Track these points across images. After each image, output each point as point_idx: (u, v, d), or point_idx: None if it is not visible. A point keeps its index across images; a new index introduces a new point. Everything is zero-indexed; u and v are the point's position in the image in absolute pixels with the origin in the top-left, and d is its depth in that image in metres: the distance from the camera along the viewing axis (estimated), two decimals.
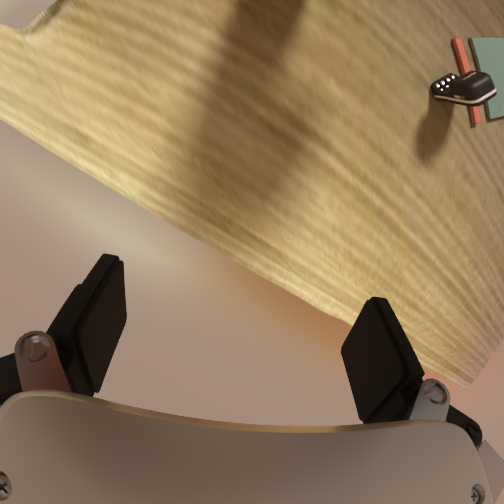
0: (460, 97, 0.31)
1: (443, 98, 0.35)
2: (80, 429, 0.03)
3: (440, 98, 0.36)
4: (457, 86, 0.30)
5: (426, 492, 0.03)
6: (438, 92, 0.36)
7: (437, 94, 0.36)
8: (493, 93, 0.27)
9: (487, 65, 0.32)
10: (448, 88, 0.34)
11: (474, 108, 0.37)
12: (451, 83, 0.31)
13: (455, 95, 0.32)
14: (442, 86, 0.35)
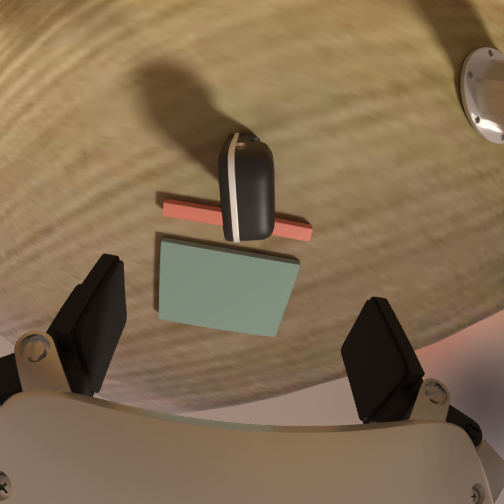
0: (240, 146, 0.21)
1: (233, 137, 0.25)
2: (80, 429, 0.03)
3: (233, 136, 0.26)
4: (265, 148, 0.21)
5: (426, 492, 0.03)
6: (245, 136, 0.26)
7: (240, 135, 0.26)
8: (231, 224, 0.20)
9: (248, 274, 0.35)
10: None
11: (188, 209, 0.31)
12: (268, 147, 0.22)
13: (244, 143, 0.22)
14: None
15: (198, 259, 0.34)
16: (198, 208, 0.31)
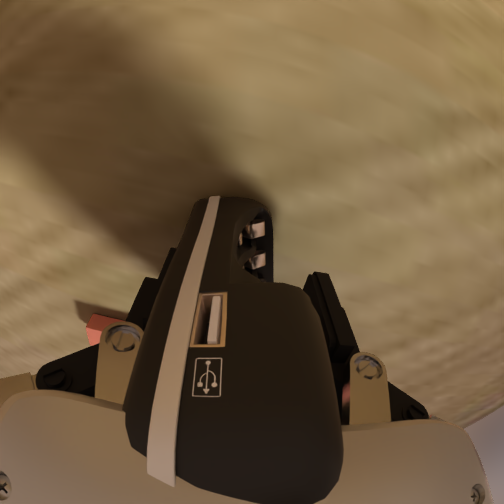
0: (208, 348, 0.05)
1: (201, 224, 0.10)
2: (80, 429, 0.03)
3: (202, 213, 0.10)
4: (311, 358, 0.05)
5: (426, 492, 0.03)
6: (233, 214, 0.10)
7: (223, 208, 0.11)
8: None
9: None
10: None
11: None
12: (311, 308, 0.06)
13: (224, 305, 0.06)
14: (248, 250, 0.12)
15: None
16: None
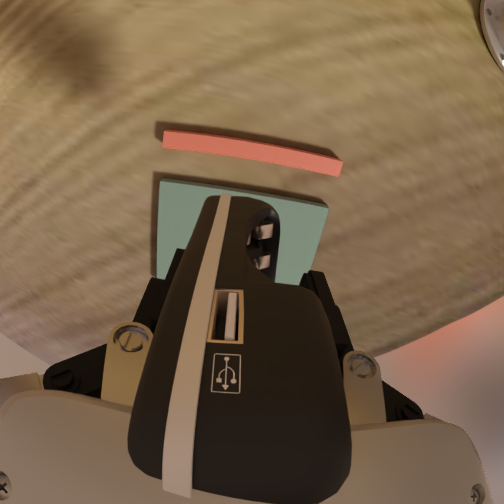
0: (226, 345, 0.05)
1: (214, 220, 0.10)
2: (80, 429, 0.03)
3: (214, 209, 0.10)
4: (326, 360, 0.05)
5: (426, 492, 0.03)
6: (245, 214, 0.10)
7: (234, 206, 0.11)
8: None
9: None
10: None
11: (193, 137, 0.24)
12: (323, 312, 0.07)
13: (241, 303, 0.06)
14: (255, 250, 0.12)
15: None
16: (205, 136, 0.24)
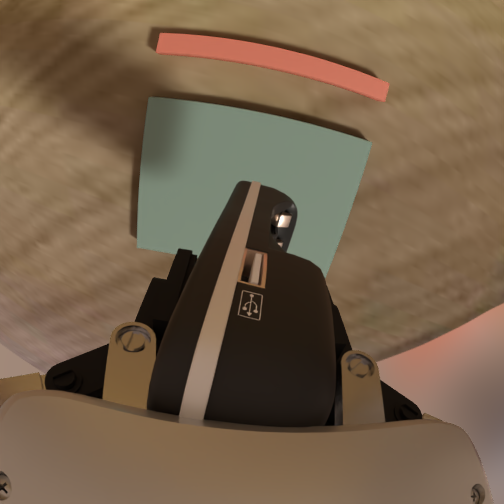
0: (252, 286, 0.07)
1: (245, 200, 0.11)
2: (80, 429, 0.03)
3: (245, 191, 0.12)
4: (324, 316, 0.07)
5: (426, 492, 0.03)
6: (271, 201, 0.12)
7: (263, 193, 0.12)
8: None
9: (291, 153, 0.20)
10: None
11: (198, 39, 0.16)
12: (326, 286, 0.08)
13: (265, 262, 0.08)
14: (271, 235, 0.13)
15: (207, 125, 0.19)
16: (214, 37, 0.16)
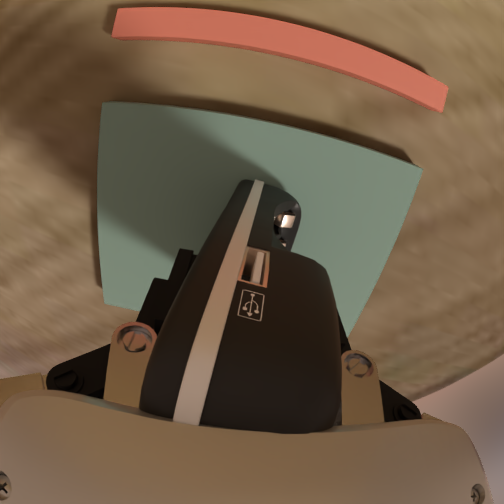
0: (253, 286, 0.06)
1: (248, 198, 0.11)
2: (80, 429, 0.03)
3: (248, 190, 0.12)
4: (330, 317, 0.06)
5: (426, 492, 0.03)
6: (275, 200, 0.12)
7: (266, 192, 0.12)
8: None
9: (312, 184, 0.14)
10: None
11: (172, 13, 0.09)
12: (331, 287, 0.08)
13: (267, 260, 0.07)
14: (274, 235, 0.13)
15: (187, 142, 0.13)
16: (197, 9, 0.09)
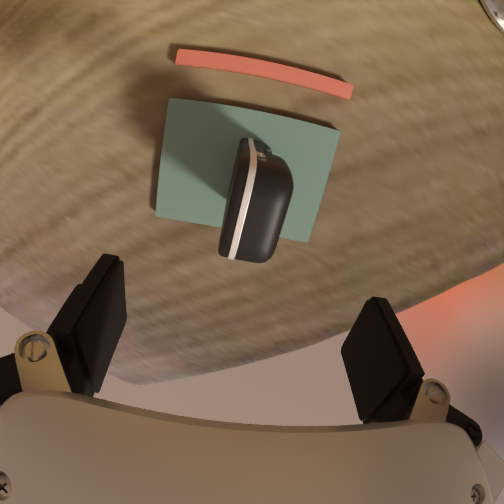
0: (261, 157, 0.19)
1: (248, 142, 0.23)
2: (80, 429, 0.03)
3: (247, 140, 0.24)
4: (287, 166, 0.19)
5: (426, 492, 0.03)
6: (260, 144, 0.24)
7: (255, 142, 0.25)
8: (231, 240, 0.18)
9: (277, 140, 0.26)
10: None
11: (207, 55, 0.22)
12: None
13: (263, 154, 0.20)
14: None
15: (214, 119, 0.25)
16: (219, 53, 0.22)
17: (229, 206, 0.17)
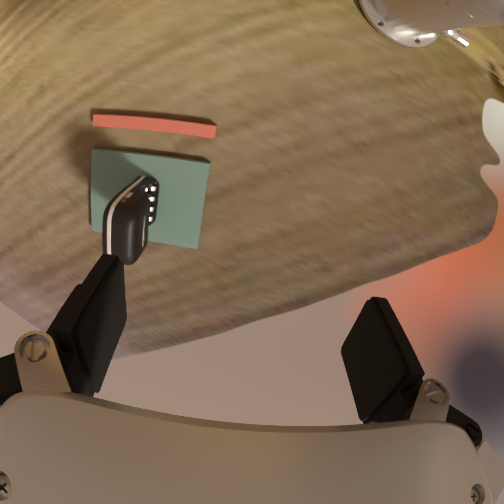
0: (126, 197, 0.28)
1: (136, 181, 0.33)
2: (80, 429, 0.03)
3: (137, 179, 0.34)
4: (141, 203, 0.28)
5: (426, 492, 0.03)
6: (145, 181, 0.34)
7: (144, 179, 0.34)
8: (107, 251, 0.28)
9: (163, 175, 0.36)
10: None
11: (111, 117, 0.31)
12: (148, 200, 0.30)
13: (131, 194, 0.29)
14: (148, 193, 0.35)
15: (120, 163, 0.34)
16: (119, 116, 0.31)
17: (102, 231, 0.27)
